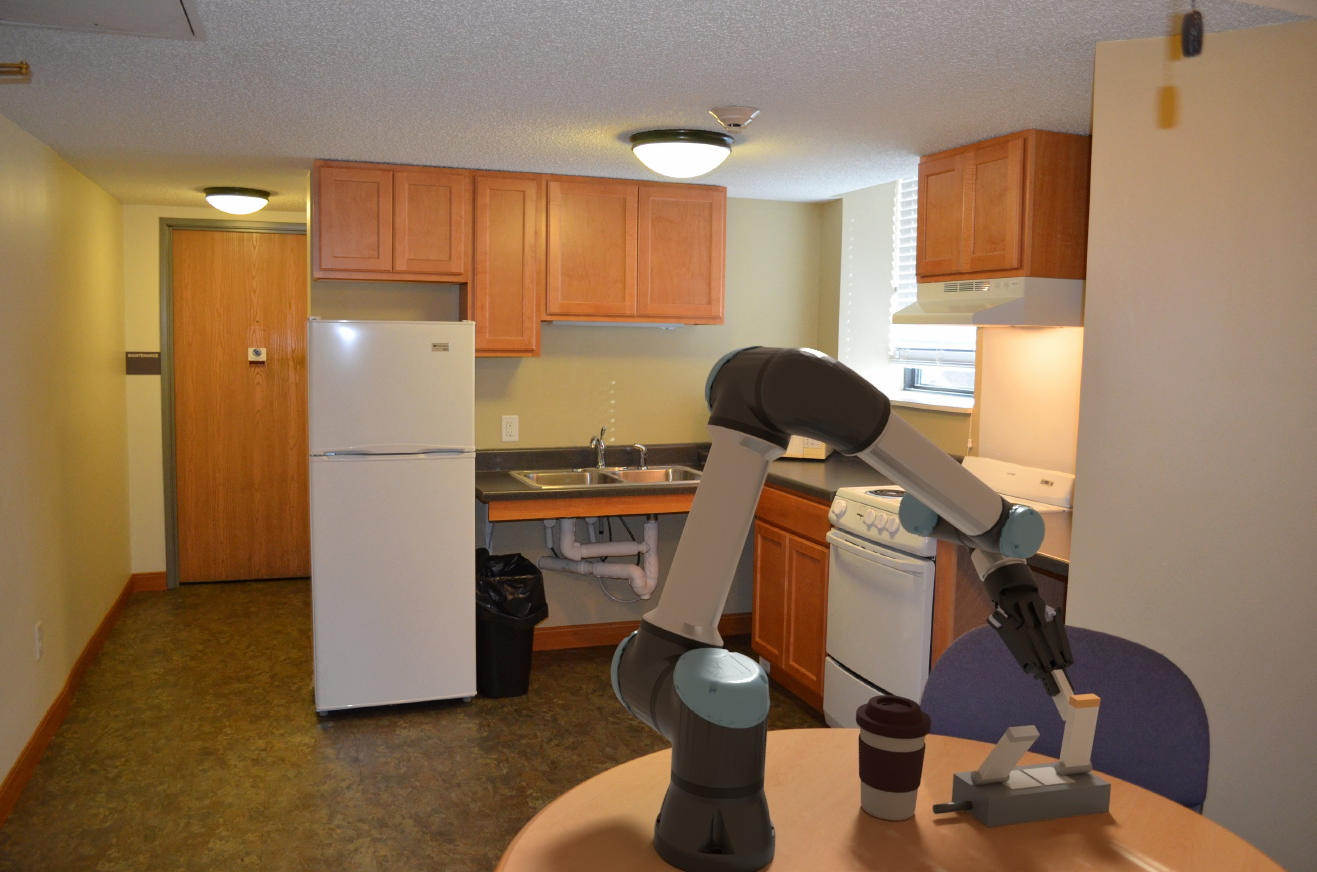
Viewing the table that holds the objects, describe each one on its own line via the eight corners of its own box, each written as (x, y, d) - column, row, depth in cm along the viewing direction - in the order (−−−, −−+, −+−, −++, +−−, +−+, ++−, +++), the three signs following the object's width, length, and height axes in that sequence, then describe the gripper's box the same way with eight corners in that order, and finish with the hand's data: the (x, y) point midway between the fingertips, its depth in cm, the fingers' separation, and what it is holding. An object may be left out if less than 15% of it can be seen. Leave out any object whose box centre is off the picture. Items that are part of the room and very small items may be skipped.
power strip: (951, 831, 127) (954, 801, 127) (917, 804, 135) (919, 775, 134) (1108, 811, 135) (1111, 782, 135) (1068, 786, 143) (1070, 759, 142)
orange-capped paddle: (1062, 777, 136) (1075, 700, 134) (1053, 771, 138) (1066, 695, 136) (1091, 774, 138) (1104, 698, 135) (1082, 767, 139) (1095, 692, 137)
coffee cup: (927, 831, 127) (934, 720, 126) (850, 821, 129) (857, 711, 128) (922, 798, 137) (929, 694, 136) (850, 789, 139) (857, 687, 138)
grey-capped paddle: (974, 787, 132) (1011, 738, 125) (968, 775, 134) (1004, 726, 127) (1005, 783, 134) (1043, 735, 127) (999, 772, 135) (1036, 723, 128)
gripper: (982, 561, 147) (1049, 708, 133) (1052, 559, 151) (1125, 701, 137) (958, 587, 153) (1020, 730, 139) (1026, 584, 157) (1093, 723, 143)
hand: (1072, 715), depth 138 cm, fingers closed
